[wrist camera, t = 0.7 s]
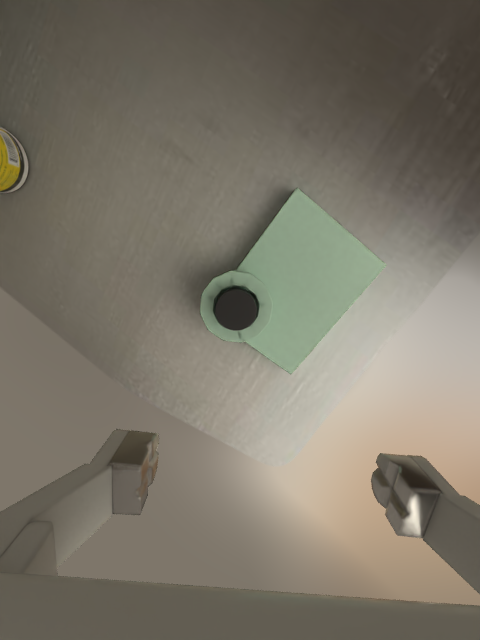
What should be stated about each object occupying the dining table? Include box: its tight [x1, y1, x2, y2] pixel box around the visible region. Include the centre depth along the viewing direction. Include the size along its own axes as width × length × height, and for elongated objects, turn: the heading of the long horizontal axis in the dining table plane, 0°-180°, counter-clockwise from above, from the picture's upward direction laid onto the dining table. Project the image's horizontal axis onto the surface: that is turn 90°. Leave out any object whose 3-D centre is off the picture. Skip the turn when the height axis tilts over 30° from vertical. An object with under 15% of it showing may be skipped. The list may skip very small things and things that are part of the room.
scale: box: [200, 188, 386, 374], centre depth 24 cm, size 12×15×3 cm
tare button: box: [215, 288, 257, 331], centre depth 23 cm, size 4×4×2 cm
